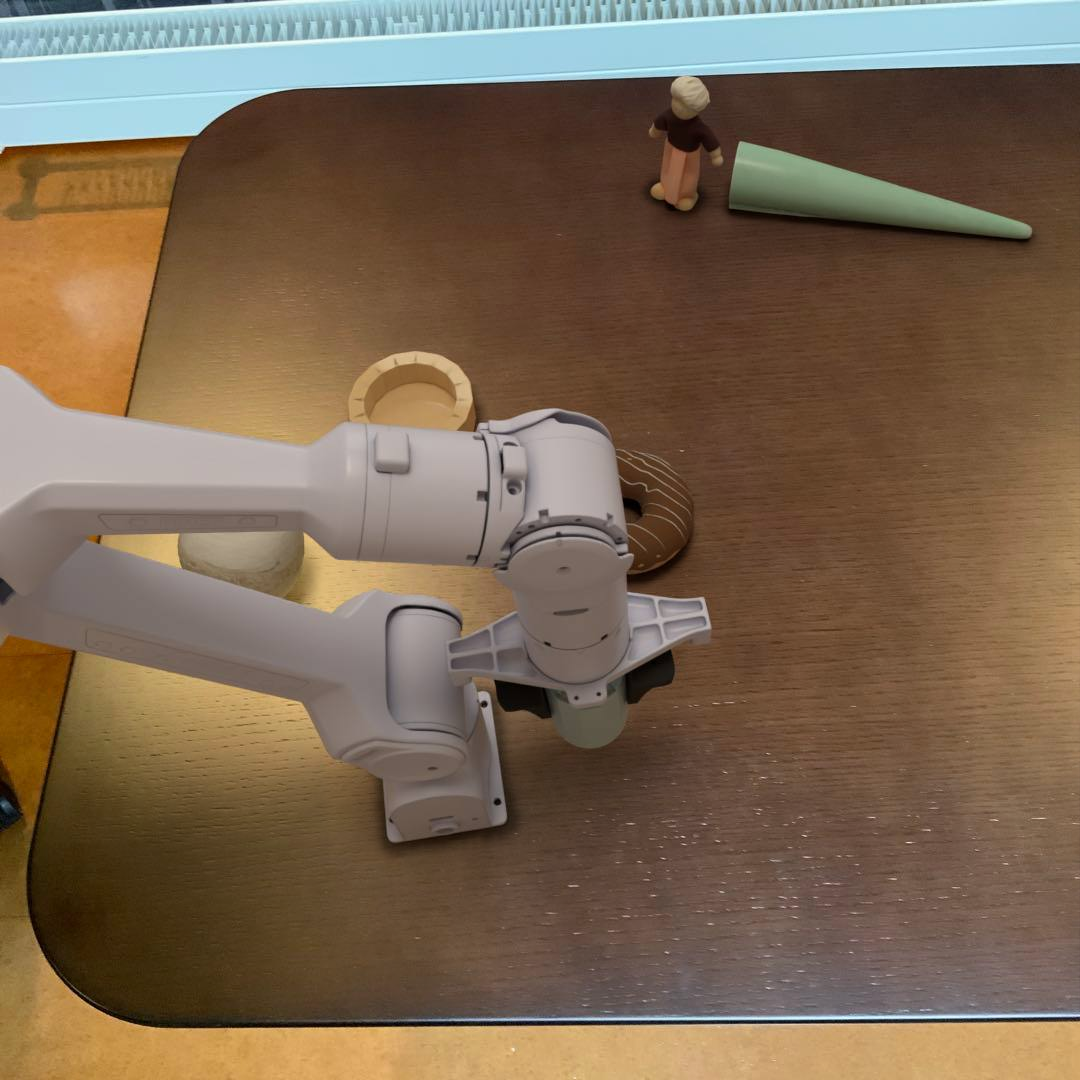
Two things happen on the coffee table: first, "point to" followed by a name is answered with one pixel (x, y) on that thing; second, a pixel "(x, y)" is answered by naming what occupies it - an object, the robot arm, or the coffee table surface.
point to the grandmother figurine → (684, 143)
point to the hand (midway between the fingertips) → (586, 696)
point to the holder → (414, 393)
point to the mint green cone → (849, 196)
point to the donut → (654, 509)
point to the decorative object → (246, 558)
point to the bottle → (590, 716)
